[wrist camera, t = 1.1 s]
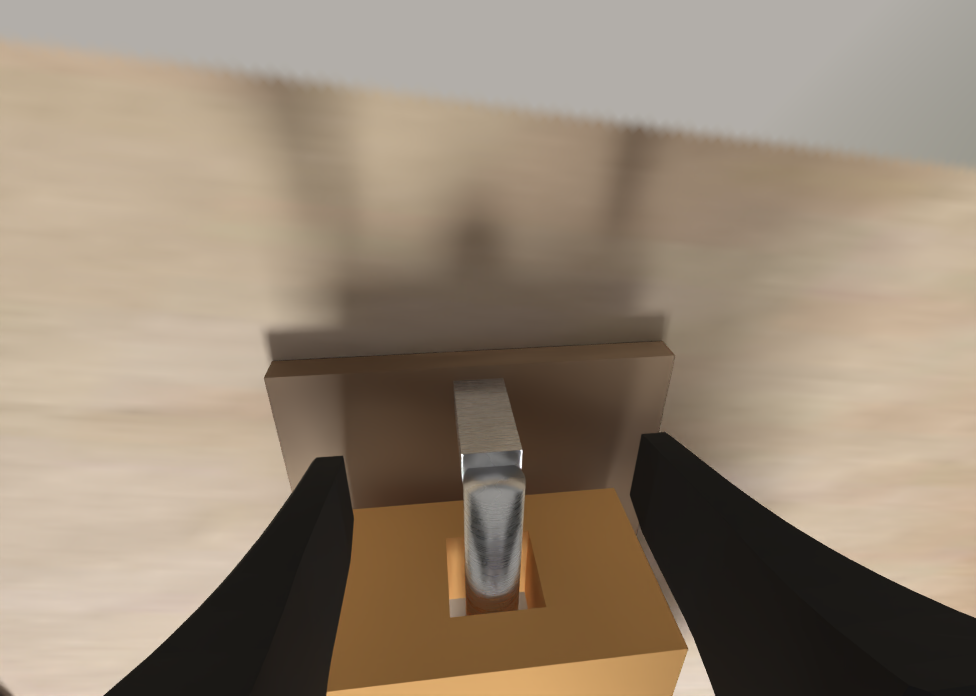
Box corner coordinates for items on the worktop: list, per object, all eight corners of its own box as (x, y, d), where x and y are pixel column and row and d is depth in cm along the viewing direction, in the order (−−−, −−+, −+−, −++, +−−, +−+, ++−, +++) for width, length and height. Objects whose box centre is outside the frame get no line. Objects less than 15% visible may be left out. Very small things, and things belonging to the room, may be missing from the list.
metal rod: (497, 674, 25) (513, 801, 20) (460, 679, 24) (469, 808, 20) (506, 378, 16) (536, 487, 12) (450, 381, 16) (461, 494, 12)
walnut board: (602, 647, 26) (608, 666, 25) (345, 677, 25) (342, 698, 24) (662, 341, 18) (675, 355, 17) (272, 361, 16) (264, 378, 15)
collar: (603, 546, 19) (666, 711, 14) (353, 570, 18) (329, 756, 13) (614, 487, 18) (688, 648, 13) (342, 510, 17) (311, 693, 12)
